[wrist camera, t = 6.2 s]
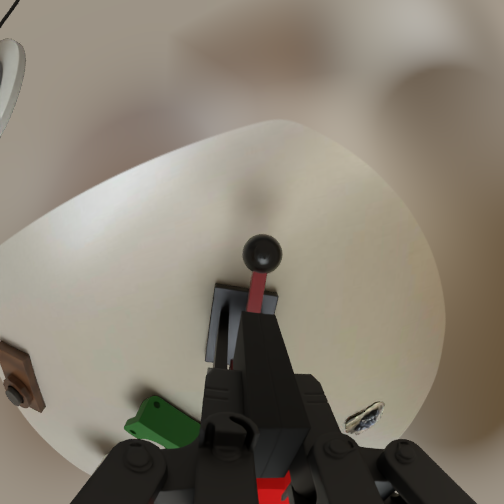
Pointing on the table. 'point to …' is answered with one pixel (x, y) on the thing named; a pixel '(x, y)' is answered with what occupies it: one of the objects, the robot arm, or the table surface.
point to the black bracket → (230, 321)
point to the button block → (21, 376)
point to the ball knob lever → (259, 268)
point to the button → (14, 396)
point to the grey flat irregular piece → (365, 419)
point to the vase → (272, 489)
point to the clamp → (162, 424)
